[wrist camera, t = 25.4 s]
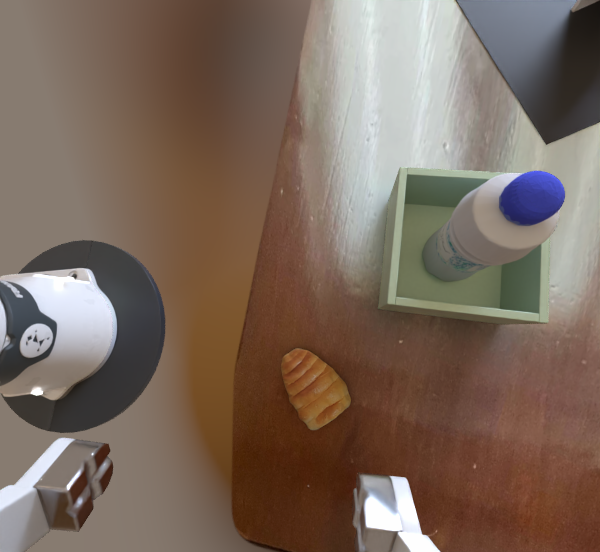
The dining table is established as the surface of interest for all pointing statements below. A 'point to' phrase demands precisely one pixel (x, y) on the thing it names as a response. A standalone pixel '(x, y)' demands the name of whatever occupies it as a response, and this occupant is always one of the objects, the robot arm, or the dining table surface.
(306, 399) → the pastry
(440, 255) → the bottle
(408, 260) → the open storage bin
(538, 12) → the architectural model
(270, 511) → the dining table surface
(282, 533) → the dining table surface
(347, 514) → the dining table surface
